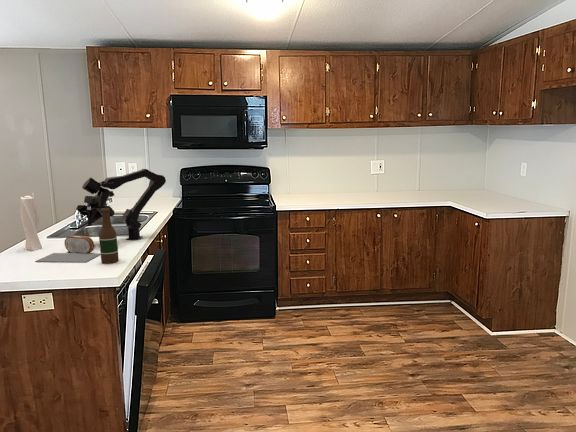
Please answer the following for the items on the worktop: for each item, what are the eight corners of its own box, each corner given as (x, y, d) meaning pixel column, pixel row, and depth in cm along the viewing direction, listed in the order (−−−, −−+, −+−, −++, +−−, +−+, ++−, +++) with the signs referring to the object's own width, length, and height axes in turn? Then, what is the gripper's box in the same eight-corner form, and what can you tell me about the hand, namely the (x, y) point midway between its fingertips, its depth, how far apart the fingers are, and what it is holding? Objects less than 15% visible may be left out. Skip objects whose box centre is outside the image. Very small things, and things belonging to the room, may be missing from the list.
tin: (95, 253, 224) (93, 235, 223) (91, 254, 222) (89, 237, 220) (69, 251, 228) (67, 234, 227) (64, 253, 225) (62, 235, 224)
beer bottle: (97, 261, 209) (92, 208, 205) (114, 258, 214) (110, 206, 210) (105, 265, 204) (100, 210, 199) (122, 261, 209) (117, 208, 204)
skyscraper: (46, 247, 237) (39, 192, 232) (33, 251, 230) (26, 194, 225) (34, 246, 239) (27, 191, 234) (21, 250, 233) (14, 193, 227)
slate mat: (53, 253, 224) (53, 252, 224) (101, 254, 222) (101, 253, 222) (35, 262, 210) (35, 261, 210) (86, 262, 208) (86, 261, 208)
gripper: (76, 189, 235) (63, 214, 226) (108, 189, 230) (96, 216, 221) (88, 202, 244) (76, 227, 235) (120, 203, 239) (108, 228, 230)
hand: (88, 224), depth 230 cm, fingers closed
